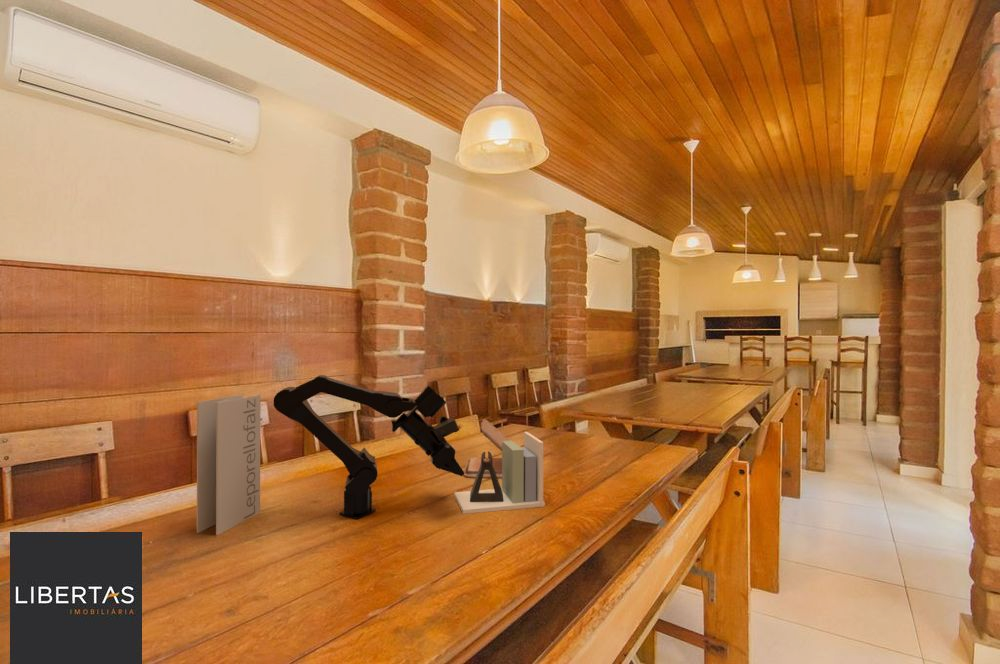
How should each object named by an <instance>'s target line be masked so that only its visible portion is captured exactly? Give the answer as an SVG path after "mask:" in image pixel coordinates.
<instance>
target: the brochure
mask: <svg viewBox="0 0 1000 664" xmlns="http://www.w3.org/2000/svg"><path fill="white" fill-rule="evenodd" d="M243 396H244V395H243V393H242V394H236V395H230V396H225V397H219V398H218V397H217V398H214V399H207V400H201V401H196V534H199V533H201V532H203V531H205V530H207V529H208V528H211V527H213V526H215V536H218V535H221V534H222V533H225V532H226V531H228V530H230V529H231V528H234V527H236V526H237V525H239V524H241V523H243V522H245V521H247V520H249V519H251V518H253V517H254V516H256V515H258V514H260V513H261V394H257V395H251V396H247V397H243Z"/></svg>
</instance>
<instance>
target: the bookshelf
mask: <svg viewBox="0 0 1000 664" xmlns="http://www.w3.org/2000/svg"><path fill="white" fill-rule="evenodd" d="M501 458H502V478H501V490H502V493H503V500H504V501H503V502H487V501H486V502H470V493H471V490H466V491H465V490H464V491H456V492H454V493H453V494H454V495H453V496H454V498H455V500H456V502H457V504H458V506H459V509H460V510H461V512H462V514H463V515H466V514H467V515H468V514H479V513H486V512H487V513H488V512H490V513H491V512H496V511H497V512H499V511H508V510H509V511H511V510H520V509H521V510H522V509H530V508H531V509H533V508H543V507H546V502H545V501H544V442H543V441H542V440H540V439H539V438H537V437H536V436H534V435H533V434H531V433H530V432H528V431H524V432H523V446H520V445H519V444H517V443H516V442H515V441H513V440H510V441H502V451H501ZM479 493H495V491H494V488H491V489H489V488H488V489H479Z"/></svg>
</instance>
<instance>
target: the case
mask: <svg viewBox="0 0 1000 664" xmlns="http://www.w3.org/2000/svg"><path fill="white" fill-rule="evenodd" d="M479 426H480V429H481V433H482V434H483V436H484V437H485V438H487V439H488V440H489V441H490V442H491V443H492V444H493V445H494V446H496V447H497V448H498V449H499V450H500V452H502V441H511V439H509V438H508V437H507V436H506V435H504V433H502V432H501V430H499V429H497V427H495V425H493V423H491V422H490V421H488V420H487V419H486V418H483V419H482V421H481V423H480V425H479ZM483 460H484V462H485V461H486V462H487V461H488V462H489V460H490V459H489V458H488V457H485V458H484V459H483ZM480 465H481V457H469V459H468V460H467V461H466V464H465V468H464V470H463V471H464V475H463V477H465V478H469V479H472V478H473V479H476V476H477V473H478V471H479V468H480ZM492 465H493V467H494V470H495V473H496V476H497V479H502V457H492ZM482 479H491V476H490V472H489V470H485V471H484V474H483V478H482Z"/></svg>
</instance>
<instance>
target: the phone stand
mask: <svg viewBox="0 0 1000 664" xmlns="http://www.w3.org/2000/svg"><path fill="white" fill-rule="evenodd" d="M480 458H481V465H480V468H479V471H478V473H477V476H476V478H474V479H475V480H474V482H473V485H472V488H471V490H470V491H471V493H470V502H486V501H487V502H503V501H504V500H503V493H502V490H501V488H502V486H501V485H500V482H499V478H497V476H496V473H495V470H494V467H493V465H492V458H493V455H492V453H491V452H490V451H487V458H489V459H490V460H489V462H488V461H487V462H486V461H485V462H484V460H483V459H484V458H486V451H483V452H482V453H481V456H480ZM485 470H489V472H490V476H491V478H490V479H491V482H492V483H491V484H492V487H493V489H494V491H495V493H479V490H481V484H482V481H483V479H484V478H483V474H484V471H485Z"/></svg>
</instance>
